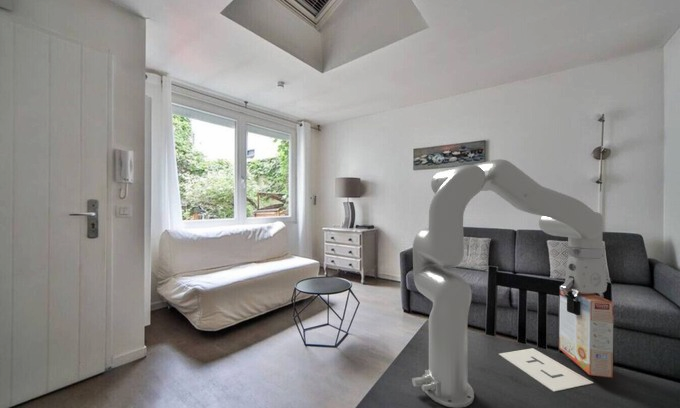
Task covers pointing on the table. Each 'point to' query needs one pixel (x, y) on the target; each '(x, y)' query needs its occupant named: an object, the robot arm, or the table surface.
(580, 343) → the cracker box
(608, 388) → the table surface
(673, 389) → the table surface
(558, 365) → the tile
